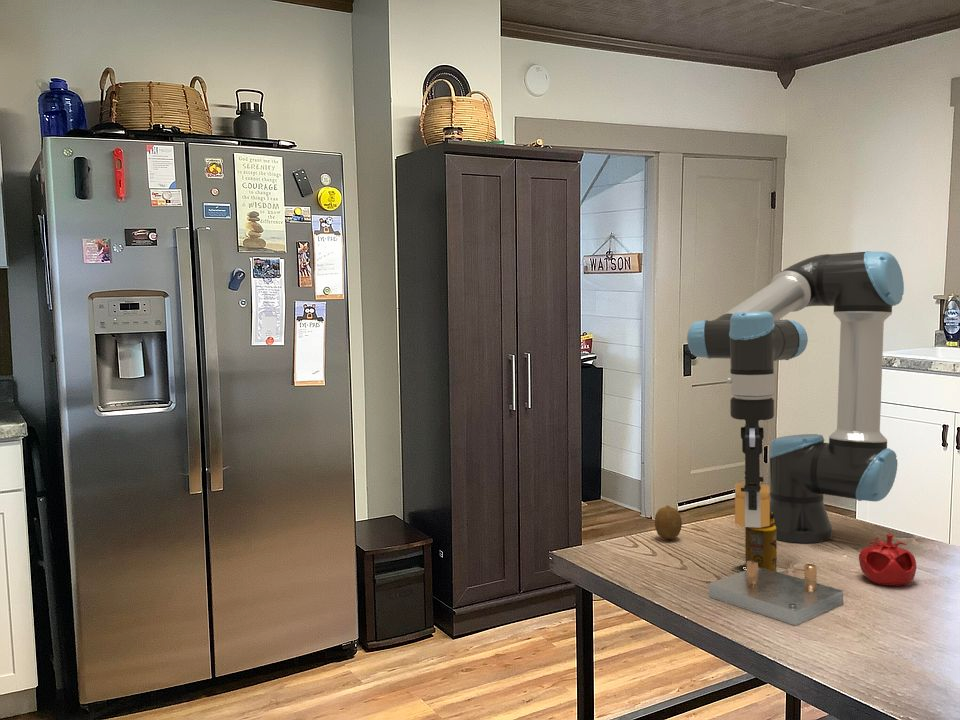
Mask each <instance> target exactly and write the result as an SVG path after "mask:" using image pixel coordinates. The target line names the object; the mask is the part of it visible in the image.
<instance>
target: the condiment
mask: <svg viewBox="0 0 960 720" xmlns="http://www.w3.org/2000/svg"><path fill="white" fill-rule="evenodd" d="M774 523H775V521H774V513H773V512H771V511H770V526H766V527H761V528H754V527H744V528H745V532H744V533H745V534H744V535H745V536H744V537H745V541H744V542H745V543H744V545H745V549H744V550H745V552H744V553H745V564H739V565H737V566H735V567H730V568H729V569H730V570H732V571H735V572H737V573H740V572H743V571H746V570H744V569H745V568H744V569H743V567H746V569H747V561H757V562H758V567H761V568H765V569H768V570H772V571H775V572H779V573H782V572H785V571H786V569H784V568H782V567H777V564H778V563H777V558H778V557H777V548H778V546H777V539H776V533H777V531H776V526H775V525H774Z"/></svg>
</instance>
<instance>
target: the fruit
mask: <svg viewBox="0 0 960 720" xmlns="http://www.w3.org/2000/svg"><path fill="white" fill-rule="evenodd" d="M682 523H683V522H682V516H681V514H680V512H679V510H678V509H676V508H675V507H672V506H670V505H666V506H664V507H661V508H660V507H659V509H658V510H657V511H656V513H655V515H654V528H655V531H656V532H657V534H658V536H660V537H661V538H663V539H664V540H666V541H671V540H673V539H675V538H677V537H678V536H679V535H680V533H681V531H682Z"/></svg>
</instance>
